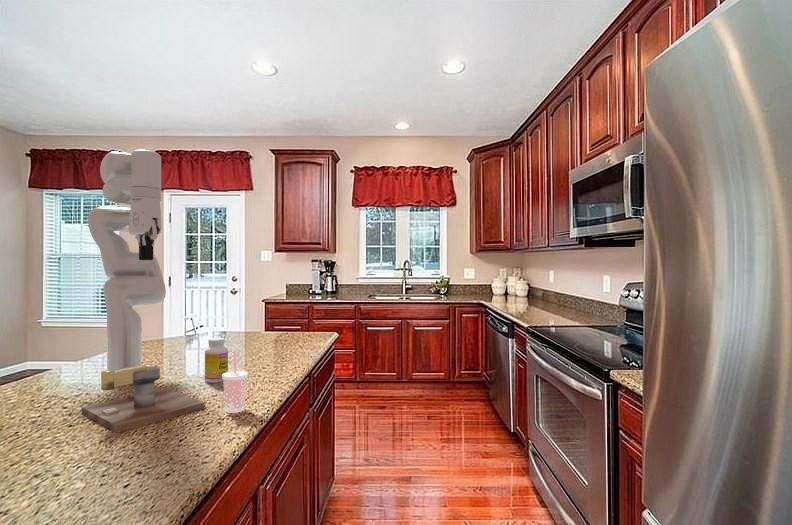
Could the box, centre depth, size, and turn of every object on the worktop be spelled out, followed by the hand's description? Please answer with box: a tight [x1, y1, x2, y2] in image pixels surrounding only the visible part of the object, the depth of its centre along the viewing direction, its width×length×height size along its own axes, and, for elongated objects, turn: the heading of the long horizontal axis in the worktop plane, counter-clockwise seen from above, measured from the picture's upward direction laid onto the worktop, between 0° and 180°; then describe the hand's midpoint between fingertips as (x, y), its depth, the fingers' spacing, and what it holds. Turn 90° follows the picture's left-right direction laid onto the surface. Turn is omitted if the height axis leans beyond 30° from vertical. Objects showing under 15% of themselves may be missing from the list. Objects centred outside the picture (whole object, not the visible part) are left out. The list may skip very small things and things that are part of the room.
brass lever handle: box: [100, 364, 161, 391], centre depth 107 cm, size 13×7×4 cm, turn 151°
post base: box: [81, 381, 206, 434], centre depth 110 cm, size 20×20×7 cm
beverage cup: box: [222, 353, 249, 414], centre depth 111 cm, size 6×6×14 cm
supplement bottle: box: [204, 337, 229, 384], centre depth 137 cm, size 7×7×13 cm
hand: (146, 259), depth 126 cm, fingers closed
